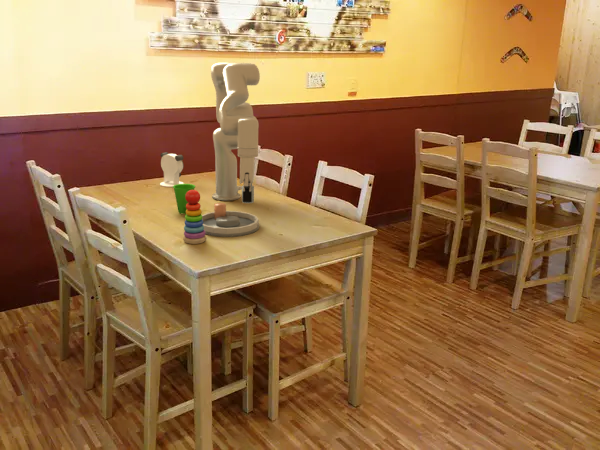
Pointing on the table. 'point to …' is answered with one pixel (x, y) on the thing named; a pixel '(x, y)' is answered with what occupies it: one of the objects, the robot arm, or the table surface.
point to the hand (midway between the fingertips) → (247, 199)
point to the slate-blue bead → (252, 194)
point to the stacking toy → (193, 219)
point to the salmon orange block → (219, 210)
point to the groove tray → (230, 224)
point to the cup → (182, 196)
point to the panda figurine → (171, 169)
